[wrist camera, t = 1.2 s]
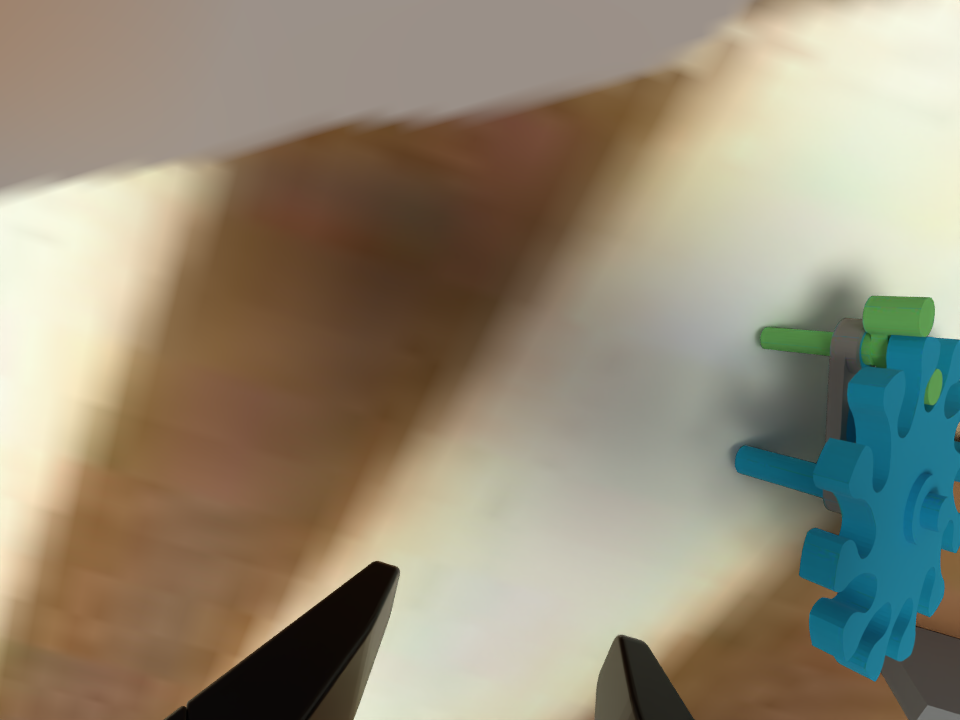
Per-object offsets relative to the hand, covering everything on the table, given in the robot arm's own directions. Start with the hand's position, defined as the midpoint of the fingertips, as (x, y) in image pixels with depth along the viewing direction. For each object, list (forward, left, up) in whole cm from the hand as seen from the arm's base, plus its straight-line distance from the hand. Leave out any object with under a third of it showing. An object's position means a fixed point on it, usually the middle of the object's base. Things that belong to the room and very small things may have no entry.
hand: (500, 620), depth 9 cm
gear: (0, -11, -13) cm, 17 cm away
